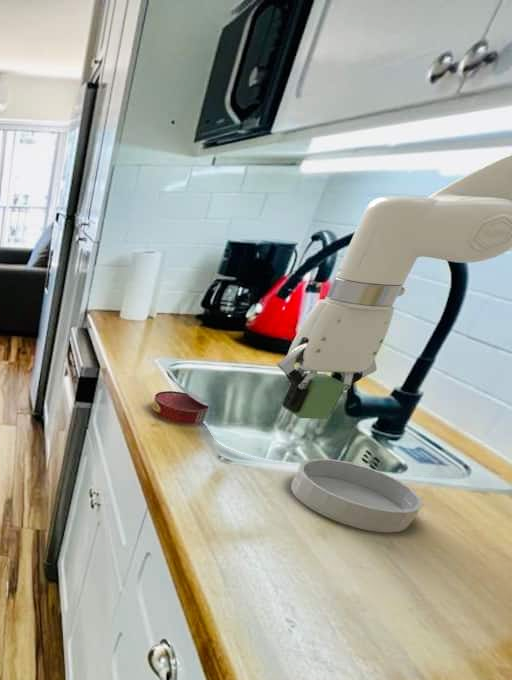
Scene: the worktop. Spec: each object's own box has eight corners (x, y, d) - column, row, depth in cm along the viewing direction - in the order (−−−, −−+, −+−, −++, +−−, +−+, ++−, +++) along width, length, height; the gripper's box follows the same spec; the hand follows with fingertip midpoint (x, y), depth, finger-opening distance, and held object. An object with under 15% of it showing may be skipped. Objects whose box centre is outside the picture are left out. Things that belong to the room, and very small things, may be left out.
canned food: (154, 422, 105) (170, 378, 104) (205, 434, 98) (222, 387, 97) (139, 413, 96) (155, 365, 95) (193, 425, 90) (211, 373, 89)
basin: (358, 478, 78) (368, 460, 76) (437, 534, 66) (452, 514, 64) (271, 475, 78) (279, 457, 76) (333, 530, 66) (345, 510, 64)
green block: (308, 407, 80) (325, 373, 77) (328, 419, 76) (346, 383, 73) (282, 406, 80) (297, 372, 77) (299, 418, 76) (316, 382, 73)
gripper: (399, 290, 72) (341, 402, 81) (285, 286, 72) (240, 398, 81) (446, 301, 65) (377, 422, 74) (320, 297, 65) (267, 417, 74)
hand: (306, 408), depth 77 cm, fingers closed on green block, 4 cm apart
